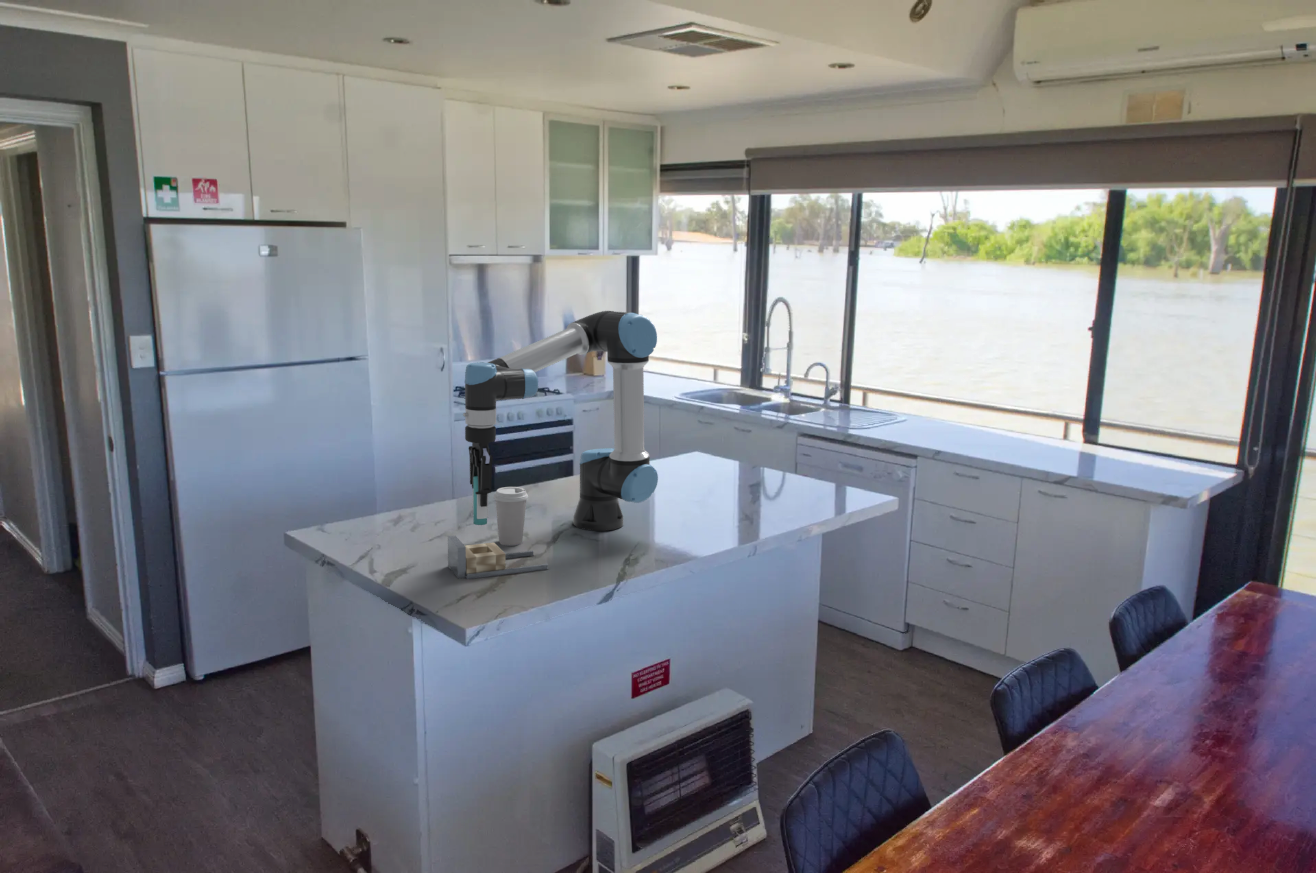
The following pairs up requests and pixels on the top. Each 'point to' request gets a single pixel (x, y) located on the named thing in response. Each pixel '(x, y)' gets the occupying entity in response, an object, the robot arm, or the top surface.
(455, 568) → the backstop
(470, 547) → the block
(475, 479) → the dowel
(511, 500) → the coffee cup
